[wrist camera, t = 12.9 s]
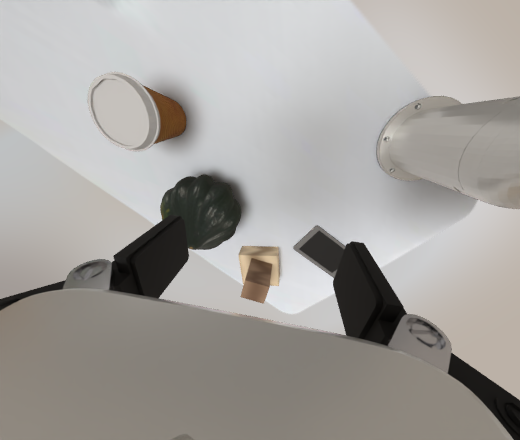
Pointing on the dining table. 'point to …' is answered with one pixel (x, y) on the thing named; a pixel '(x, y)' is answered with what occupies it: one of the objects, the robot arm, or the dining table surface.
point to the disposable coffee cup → (133, 112)
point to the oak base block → (263, 255)
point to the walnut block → (257, 281)
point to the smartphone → (321, 250)
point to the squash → (203, 210)
